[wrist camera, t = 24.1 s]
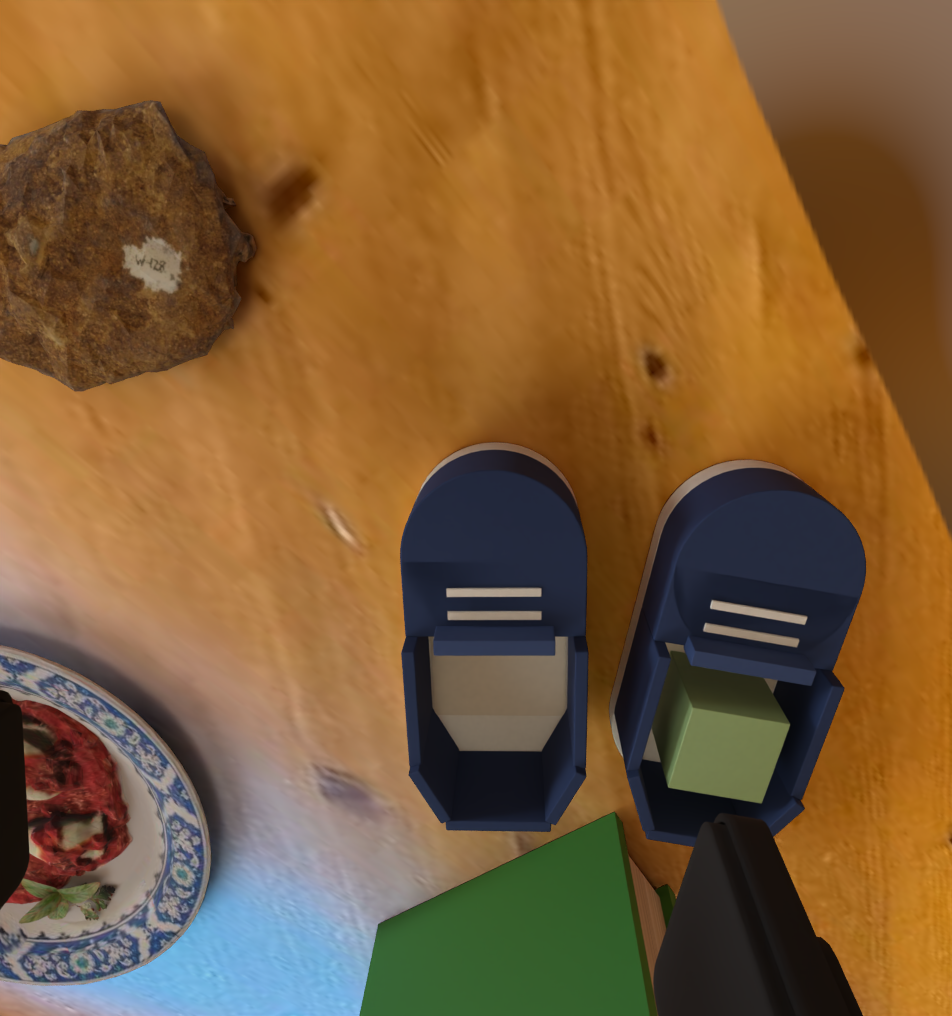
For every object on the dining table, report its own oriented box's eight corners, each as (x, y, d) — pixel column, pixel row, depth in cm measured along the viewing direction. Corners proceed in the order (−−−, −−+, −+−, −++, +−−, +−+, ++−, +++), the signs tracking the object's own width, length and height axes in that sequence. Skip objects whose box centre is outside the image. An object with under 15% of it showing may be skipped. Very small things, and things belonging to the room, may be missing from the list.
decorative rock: (37, 421, 39) (297, 316, 37) (-11, 444, 35) (276, 328, 33) (-100, 199, 35) (183, 68, 33) (-171, 197, 31) (144, 48, 29)
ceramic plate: (-254, 640, 44) (-307, 667, 41) (164, 603, 41) (138, 629, 38) (-93, 964, 52) (-128, 1005, 49) (262, 948, 50) (247, 990, 47)
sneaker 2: (676, 445, 37) (710, 487, 30) (846, 475, 37) (916, 523, 30) (594, 757, 43) (608, 847, 37) (739, 782, 43) (779, 876, 37)
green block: (670, 649, 39) (692, 707, 34) (756, 664, 39) (790, 724, 34) (649, 722, 40) (667, 787, 35) (732, 736, 40) (762, 804, 35)
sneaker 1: (409, 443, 37) (386, 484, 31) (580, 440, 37) (593, 481, 30) (428, 756, 44) (413, 844, 37) (575, 757, 43) (585, 847, 37)
